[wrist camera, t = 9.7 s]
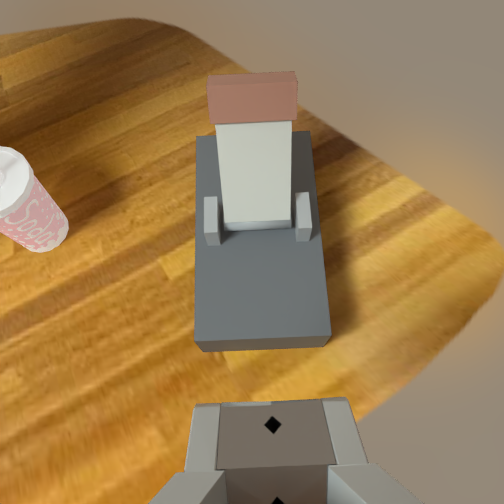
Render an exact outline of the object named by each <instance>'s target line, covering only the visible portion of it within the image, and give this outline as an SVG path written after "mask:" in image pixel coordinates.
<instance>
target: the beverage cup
mask: <svg viewBox="0 0 504 504" xmlns="http://www.w3.org/2000/svg"><path fill="white" fill-rule="evenodd" d="M68 229H69V227H68V220H67V218H66V217H65V215H64V213H63V212H62V211H61V209H60V208H59V207H58V206H57V204H56V203H55V202H54V200H53V199H52V198H51V196H50V195H49V194H48V192H47V191H46V190H45V189H44V187H43V186H42V185H41V183H40V182H39V181H38V179H37V178H36V177H35V176H34V174H33V170H32V168H31V166H30V165H29V163H28V161H27V160H26V159H25V157H24V156H23V155H22V154H21V153H19V152H17V151H16V150H14V149H12V148H10V147H2V146H0V232H1V233H3V234H4V235H6V236H7V237H9V238H11V239H12V240H14V241H16V242H17V243H19V244H21V245H22V246H24V247H26V248H27V249H29V250H30V251H34V252H45V251H50V250H52V249H54V248H55V247H57V246H59V245H60V244H61V242H62V241H63V240H64V239H65V238H66V235H67V232H68Z"/></svg>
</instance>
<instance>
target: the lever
mask: <svg viewBox="0 0 504 504" xmlns="http://www.w3.org/2000/svg"><path fill="white" fill-rule="evenodd" d="M297 86H298V81H297V78H296V75H295V72H294V71H290V72H269V73H248V74H228V75H208V80H207V85H206V88H207V98H208V107H209V117H210V124H215V127H216V137H217V148H218V158H219V168H220V179H221V189H222V200H223V210H224V215H223V220H224V231H242V230H264V229H286V228H291V211H290V207H291V138H292V120H297V90H298V87H297Z"/></svg>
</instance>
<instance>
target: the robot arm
mask: <svg viewBox="0 0 504 504" xmlns="http://www.w3.org/2000/svg"><path fill="white" fill-rule="evenodd" d="M148 504H424V503H423V502H421V501H420V500H419V499H418V498H417V497H416V496H414V495H413V494H412V493H411V492H410V491H409V490H408V489H406V488H405V487H404V486H403V485H402V484H400V483H399V482H398V481H397V480H396V479H394V478H393V477H392V476H391V475H390V474H389V473H388V472H386V471H385V470H384V469H383V468H382V467H381V466H379V465H378V464H377V463H376V464H369V462H368V459H367V456H366V453H365V450H364V447H363V444H362V441H361V438H360V435H359V432H358V429H357V425H356V422H355V419H354V416H353V413H352V410H351V407H350V404H349V401H348V399H347V398H346V397H334V398H320V399H308V400H289V401H271V402H227V403H204V404H196V405H195V407H194V409H193V415H192V422H191V429H190V435H189V442H188V449H187V456H186V462H185V469H184V472H180V473H175V474H174V475H173V477H172V478H171V479H170V480H169V481H168V482H167V483H166V484H165V485H164V487H163V488H162V489H161V490H160V491H159V492H158V493H157V494H156V495H155V497H154V498H153V499H152V500H151V501H150V502H149V503H148Z"/></svg>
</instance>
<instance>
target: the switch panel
mask: <svg viewBox="0 0 504 504" xmlns="http://www.w3.org/2000/svg"><path fill="white" fill-rule="evenodd" d="M290 211H291V228H286V229H264V230H242V231H224V220H223V215H224V210H223V200H222V189H221V179H220V168H219V158H218V148H217V137H216V135H213V136H196V229H195V329H194V341H195V343H196V344H197V345H198V346H199V348H200V349H201V350H202V351H203V352H219V351H242V350H265V349H288V348H311V347H323V346H324V345H325V344H326V342H327V341H328V340H329V338H330V337H331V336H332V334H331V324H330V315H329V305H328V296H327V287H326V277H325V268H324V258H323V249H322V239H321V230H320V221H319V211H318V202H317V192H316V183H315V174H314V164H313V155H312V145H311V136H310V131H297V132H292V138H291V207H290Z"/></svg>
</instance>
